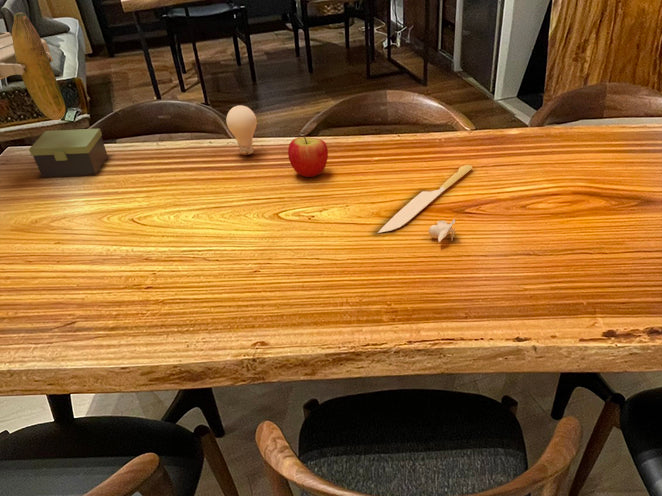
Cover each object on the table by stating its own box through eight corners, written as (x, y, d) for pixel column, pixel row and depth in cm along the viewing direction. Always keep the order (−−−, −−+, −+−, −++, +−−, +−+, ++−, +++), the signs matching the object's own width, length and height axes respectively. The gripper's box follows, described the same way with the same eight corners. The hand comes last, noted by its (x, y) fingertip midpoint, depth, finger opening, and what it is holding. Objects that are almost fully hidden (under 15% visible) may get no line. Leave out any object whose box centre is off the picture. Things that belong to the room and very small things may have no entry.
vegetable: (46, 127, 128) (4, 18, 115) (33, 119, 131) (-8, 13, 118) (74, 119, 131) (37, 11, 118) (61, 112, 135) (23, 7, 121)
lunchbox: (39, 178, 138) (28, 149, 133) (56, 157, 146) (46, 130, 142) (95, 176, 138) (85, 147, 134) (109, 155, 146) (100, 127, 142)
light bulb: (264, 158, 142) (257, 108, 135) (235, 163, 141) (226, 113, 133) (258, 147, 147) (250, 99, 140) (230, 152, 145) (221, 103, 138)
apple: (286, 170, 137) (280, 124, 130) (323, 163, 139) (319, 118, 132) (296, 185, 131) (290, 138, 125) (334, 178, 133) (330, 131, 127)
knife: (369, 228, 116) (390, 232, 113) (457, 161, 136) (476, 163, 133) (370, 234, 117) (391, 238, 114) (457, 167, 136) (476, 169, 134)
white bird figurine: (425, 224, 116) (435, 202, 113) (448, 232, 117) (459, 210, 114) (426, 246, 110) (437, 223, 107) (450, 254, 111) (461, 232, 108)
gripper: (-67, 56, 118) (-8, 61, 114) (9, 29, 132) (64, 32, 129) (-51, 91, 122) (6, 97, 119) (21, 61, 136) (74, 65, 133)
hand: (37, 63), depth 124 cm, fingers closed on vegetable, 6 cm apart
